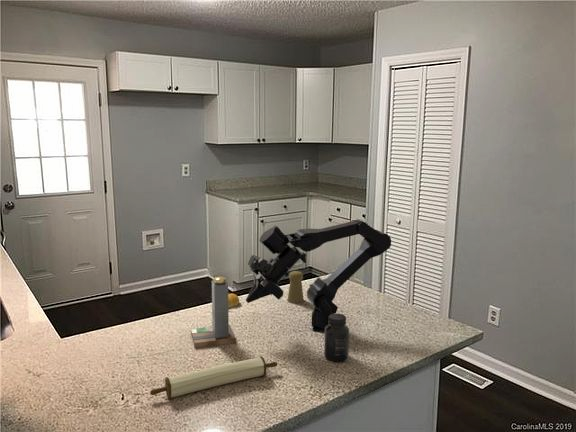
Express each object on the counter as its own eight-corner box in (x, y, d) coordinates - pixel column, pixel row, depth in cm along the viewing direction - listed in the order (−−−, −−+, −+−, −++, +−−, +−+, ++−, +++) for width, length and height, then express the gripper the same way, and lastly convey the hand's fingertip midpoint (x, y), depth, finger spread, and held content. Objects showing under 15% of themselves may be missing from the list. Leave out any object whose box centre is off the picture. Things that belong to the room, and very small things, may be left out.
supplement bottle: (350, 353, 133) (352, 313, 131) (345, 365, 127) (347, 323, 125) (327, 349, 135) (328, 310, 133) (321, 360, 129) (322, 319, 127)
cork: (303, 303, 170) (304, 274, 168) (287, 303, 170) (287, 274, 168) (303, 297, 176) (304, 269, 174) (287, 297, 176) (287, 269, 174)
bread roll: (242, 306, 168) (242, 295, 167) (218, 310, 164) (218, 299, 163) (234, 298, 175) (234, 288, 174) (211, 302, 171) (210, 292, 170)
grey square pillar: (223, 324, 146) (223, 271, 143) (228, 336, 138) (228, 280, 135) (210, 326, 145) (209, 272, 142) (215, 338, 137) (214, 281, 134)
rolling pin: (272, 367, 125) (272, 350, 125) (281, 377, 121) (281, 359, 120) (148, 395, 112) (147, 376, 111) (152, 408, 107) (152, 388, 106)
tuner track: (229, 328, 148) (229, 324, 148) (235, 342, 139) (235, 337, 139) (190, 333, 145) (190, 328, 144) (194, 347, 135) (194, 342, 135)
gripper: (257, 239, 148) (222, 275, 147) (273, 254, 130) (233, 295, 129) (280, 261, 152) (247, 297, 151) (299, 279, 134) (261, 319, 133)
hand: (246, 301), depth 141 cm, fingers closed
